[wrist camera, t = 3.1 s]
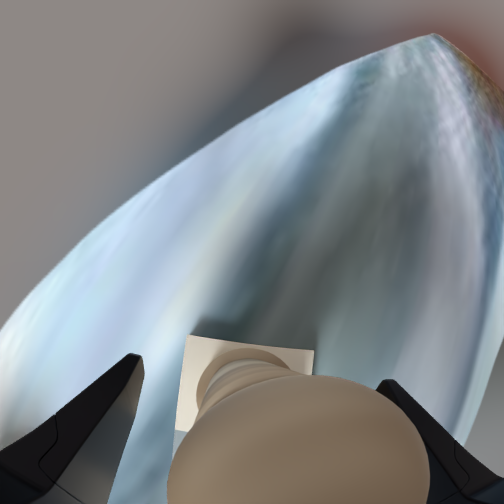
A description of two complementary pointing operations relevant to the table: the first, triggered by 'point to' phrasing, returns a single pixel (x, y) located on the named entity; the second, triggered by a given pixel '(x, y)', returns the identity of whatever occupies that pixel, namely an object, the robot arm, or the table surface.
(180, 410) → the board
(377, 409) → the round-topped post
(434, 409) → the table surface
